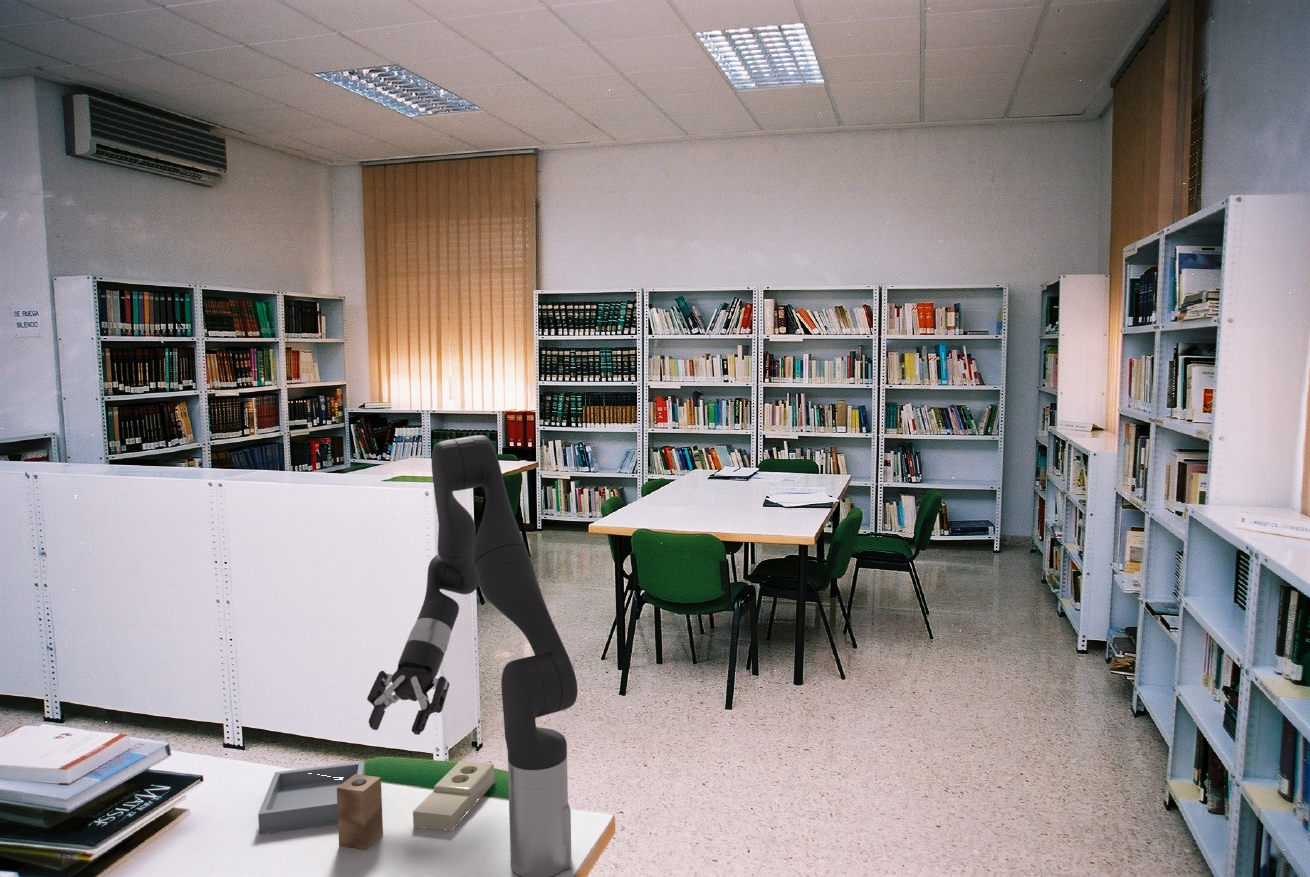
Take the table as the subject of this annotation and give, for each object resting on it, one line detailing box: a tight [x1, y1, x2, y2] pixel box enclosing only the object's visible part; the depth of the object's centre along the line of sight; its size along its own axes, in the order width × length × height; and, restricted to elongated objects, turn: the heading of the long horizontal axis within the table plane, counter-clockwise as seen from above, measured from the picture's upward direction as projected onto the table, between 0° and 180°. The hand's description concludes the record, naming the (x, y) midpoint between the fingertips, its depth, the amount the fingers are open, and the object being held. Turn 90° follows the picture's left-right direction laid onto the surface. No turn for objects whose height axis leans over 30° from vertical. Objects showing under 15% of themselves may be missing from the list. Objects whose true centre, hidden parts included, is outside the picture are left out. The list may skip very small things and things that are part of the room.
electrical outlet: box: [412, 760, 495, 831], centre depth 153 cm, size 7×4×18 cm
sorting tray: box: [257, 761, 366, 835], centre depth 153 cm, size 16×16×4 cm
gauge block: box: [337, 774, 384, 851], centre depth 140 cm, size 5×5×10 cm
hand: (394, 730), depth 150 cm, fingers open, 8 cm apart
